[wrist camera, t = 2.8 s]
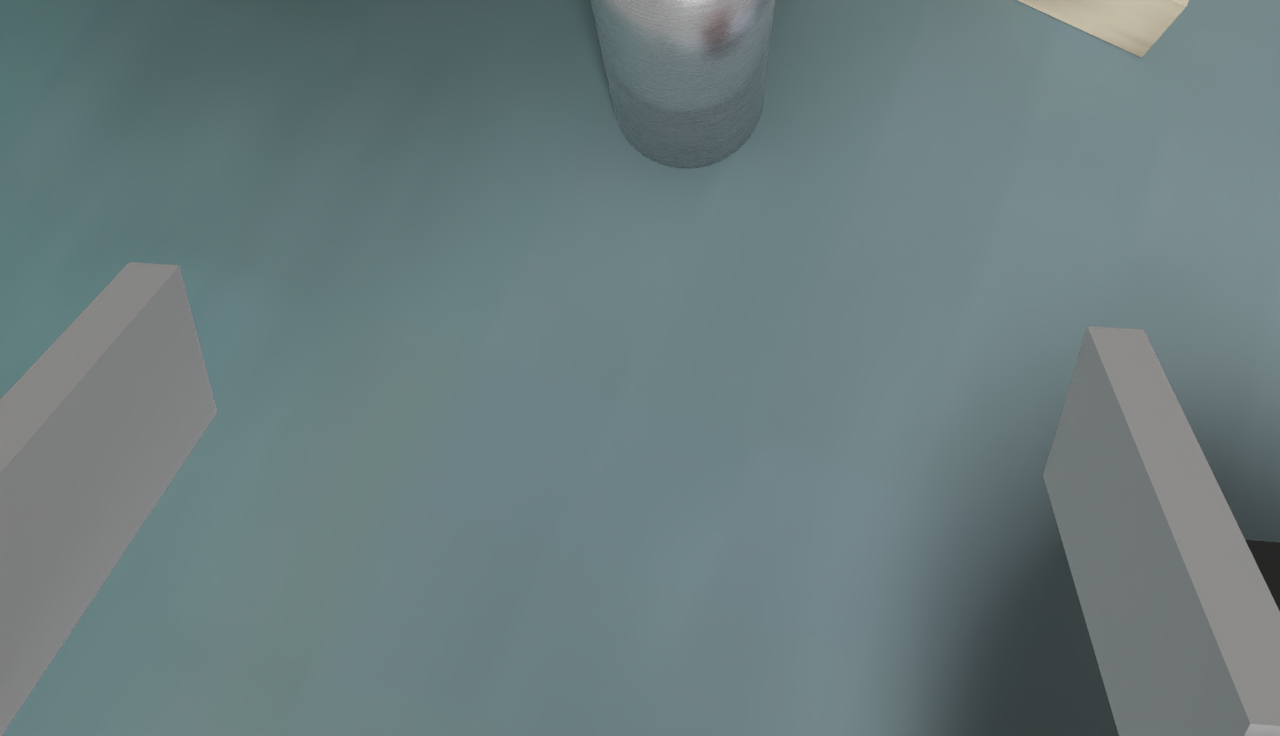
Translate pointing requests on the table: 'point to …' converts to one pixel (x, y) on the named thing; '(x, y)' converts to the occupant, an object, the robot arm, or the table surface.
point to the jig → (1116, 19)
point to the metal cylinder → (685, 74)
